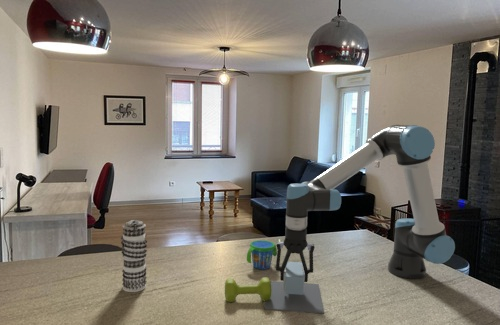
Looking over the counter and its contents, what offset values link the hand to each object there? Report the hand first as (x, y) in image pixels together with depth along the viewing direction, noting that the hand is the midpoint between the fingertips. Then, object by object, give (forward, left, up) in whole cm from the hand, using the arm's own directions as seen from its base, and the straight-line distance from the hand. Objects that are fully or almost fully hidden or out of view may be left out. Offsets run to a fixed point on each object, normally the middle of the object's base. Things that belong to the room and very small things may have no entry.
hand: (293, 289), depth 138 cm
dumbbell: (+16, +5, -3) cm, 17 cm away
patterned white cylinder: (+59, +1, -3) cm, 59 cm away
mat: (0, 0, -3) cm, 3 cm away
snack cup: (+13, -26, -3) cm, 29 cm away
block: (0, +8, +5) cm, 9 cm away
